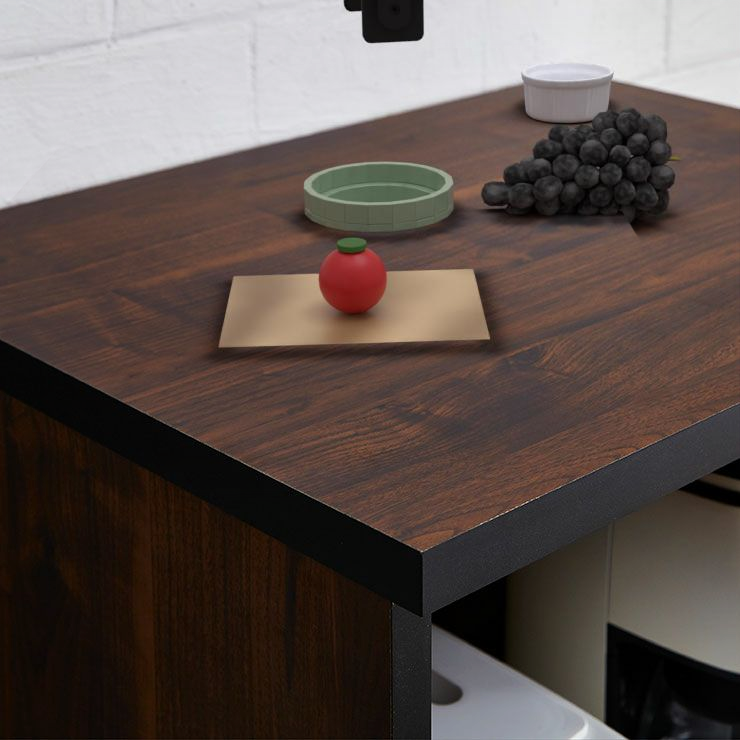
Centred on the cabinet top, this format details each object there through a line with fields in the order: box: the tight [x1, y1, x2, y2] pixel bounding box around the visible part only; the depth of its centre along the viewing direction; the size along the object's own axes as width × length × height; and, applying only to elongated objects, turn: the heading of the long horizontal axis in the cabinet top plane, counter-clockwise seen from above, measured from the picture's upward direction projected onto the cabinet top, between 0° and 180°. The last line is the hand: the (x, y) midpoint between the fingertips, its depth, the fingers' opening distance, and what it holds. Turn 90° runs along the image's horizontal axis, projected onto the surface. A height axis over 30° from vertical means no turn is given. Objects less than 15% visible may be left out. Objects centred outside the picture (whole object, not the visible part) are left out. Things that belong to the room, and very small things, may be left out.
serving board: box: [218, 268, 491, 349], centre depth 87 cm, size 16×12×2 cm
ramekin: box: [520, 61, 615, 124], centre depth 135 cm, size 9×9×4 cm
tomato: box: [318, 237, 387, 314], centre depth 85 cm, size 4×4×4 cm
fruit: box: [480, 107, 683, 224], centre depth 104 cm, size 9×8×15 cm
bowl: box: [303, 161, 455, 233], centre depth 105 cm, size 11×11×4 cm
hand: (381, 24), depth 77 cm, fingers open, 9 cm apart
